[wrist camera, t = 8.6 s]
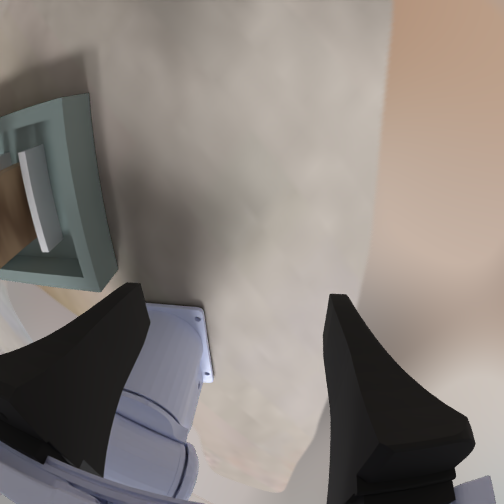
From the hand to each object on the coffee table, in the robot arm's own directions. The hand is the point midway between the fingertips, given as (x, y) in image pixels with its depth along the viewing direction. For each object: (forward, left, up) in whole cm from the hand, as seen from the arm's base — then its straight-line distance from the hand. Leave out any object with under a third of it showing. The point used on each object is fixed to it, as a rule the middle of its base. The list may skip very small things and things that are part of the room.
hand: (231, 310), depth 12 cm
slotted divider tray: (+2, +18, -10) cm, 21 cm away
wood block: (+2, +18, -10) cm, 21 cm away
